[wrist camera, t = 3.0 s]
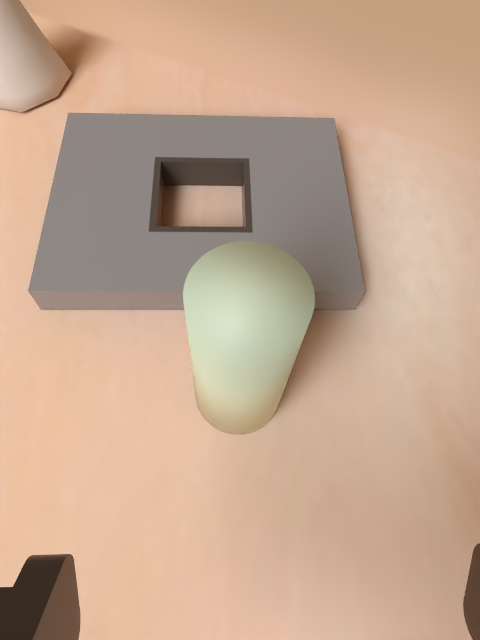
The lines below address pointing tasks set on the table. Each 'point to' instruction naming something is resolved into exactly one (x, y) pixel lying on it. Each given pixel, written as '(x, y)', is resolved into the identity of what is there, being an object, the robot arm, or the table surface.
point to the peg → (245, 330)
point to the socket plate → (189, 242)
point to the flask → (26, 61)
